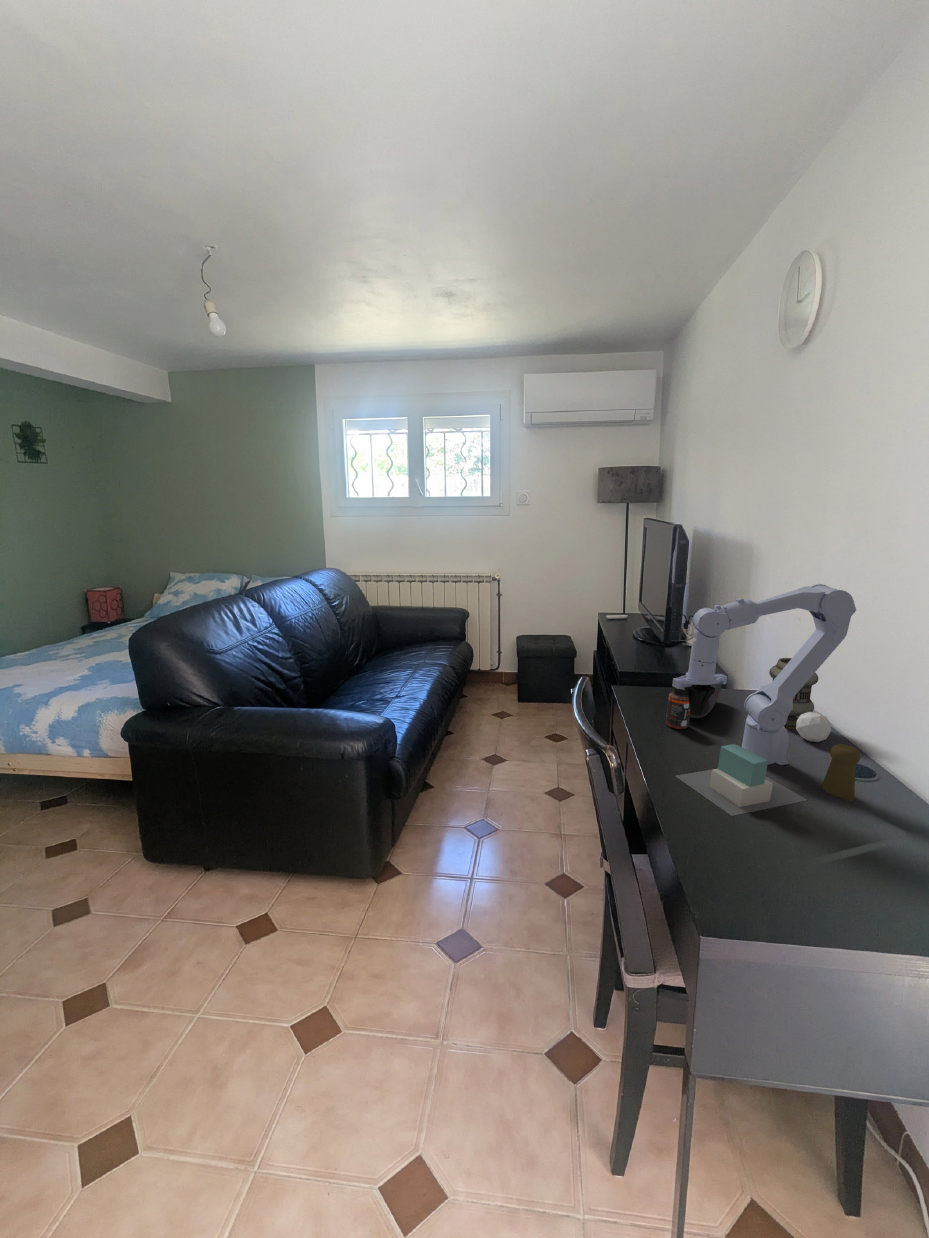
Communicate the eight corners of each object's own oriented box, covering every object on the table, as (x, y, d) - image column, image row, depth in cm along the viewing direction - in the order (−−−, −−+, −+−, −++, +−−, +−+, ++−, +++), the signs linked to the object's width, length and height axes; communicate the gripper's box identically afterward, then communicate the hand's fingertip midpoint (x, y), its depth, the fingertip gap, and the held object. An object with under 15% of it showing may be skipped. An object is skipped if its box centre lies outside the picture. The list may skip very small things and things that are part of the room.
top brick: (731, 765, 116) (734, 743, 115) (764, 783, 109) (768, 760, 108) (717, 768, 114) (720, 746, 113) (750, 786, 107) (753, 763, 106)
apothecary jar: (752, 715, 157) (761, 656, 153) (783, 712, 160) (794, 654, 157) (787, 732, 146) (798, 669, 142) (820, 728, 149) (832, 666, 145)
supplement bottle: (690, 731, 144) (695, 691, 142) (667, 728, 146) (672, 689, 143) (686, 722, 150) (691, 684, 148) (663, 720, 151) (668, 682, 149)
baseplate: (744, 767, 125) (744, 764, 125) (806, 803, 111) (807, 800, 111) (674, 779, 119) (674, 775, 119) (731, 819, 104) (731, 815, 104)
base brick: (738, 781, 117) (741, 764, 116) (769, 800, 110) (773, 783, 109) (709, 786, 114) (712, 769, 114) (739, 807, 107) (742, 788, 106)
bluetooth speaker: (710, 726, 148) (715, 692, 146) (675, 718, 153) (679, 685, 151) (721, 701, 167) (725, 671, 165) (689, 695, 172) (693, 665, 170)
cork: (848, 790, 117) (858, 743, 114) (858, 804, 111) (869, 755, 109) (816, 784, 119) (825, 738, 116) (824, 798, 113) (834, 750, 111)
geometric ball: (816, 749, 142) (842, 730, 139) (806, 746, 137) (833, 726, 134) (794, 726, 147) (819, 707, 144) (784, 722, 142) (810, 703, 139)
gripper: (714, 652, 132) (706, 704, 135) (666, 656, 127) (659, 710, 130) (737, 661, 126) (728, 715, 129) (688, 665, 121) (680, 721, 124)
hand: (695, 713), depth 129 cm, fingers closed
